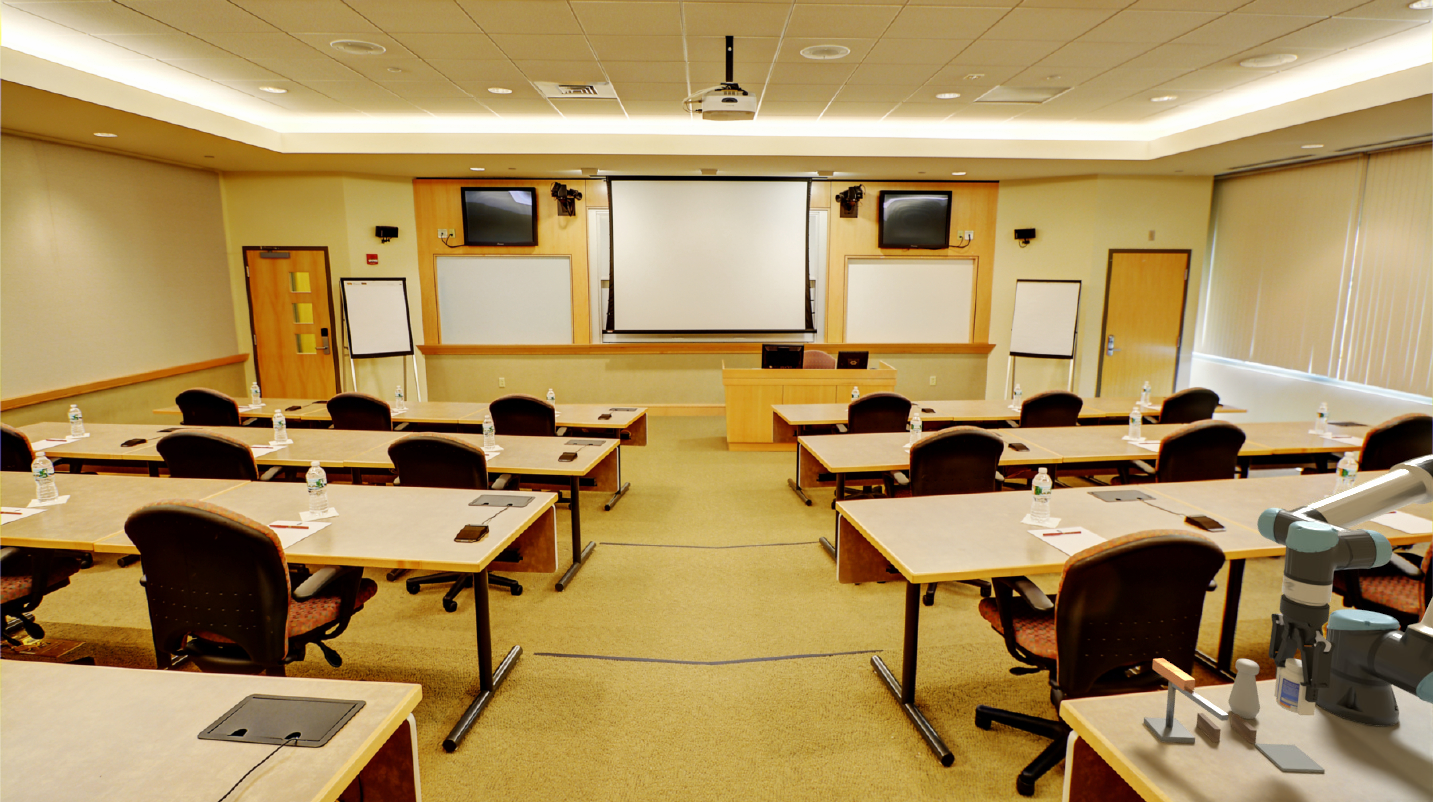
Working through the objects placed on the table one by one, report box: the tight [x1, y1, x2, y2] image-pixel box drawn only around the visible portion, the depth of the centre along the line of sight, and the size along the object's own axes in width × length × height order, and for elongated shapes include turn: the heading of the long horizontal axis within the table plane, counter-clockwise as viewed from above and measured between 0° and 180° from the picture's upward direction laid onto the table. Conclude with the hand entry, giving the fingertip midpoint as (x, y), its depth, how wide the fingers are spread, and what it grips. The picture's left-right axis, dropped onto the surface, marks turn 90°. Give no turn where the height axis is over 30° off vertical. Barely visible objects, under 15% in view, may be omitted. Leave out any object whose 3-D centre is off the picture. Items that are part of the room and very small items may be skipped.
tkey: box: [1152, 657, 1229, 728], centre depth 145 cm, size 18×2×14 cm, turn 7°
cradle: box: [1196, 712, 1257, 744], centre depth 150 cm, size 9×6×3 cm
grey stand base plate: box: [1143, 717, 1196, 744], centre depth 151 cm, size 7×7×1 cm
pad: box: [1254, 743, 1326, 774], centre depth 141 cm, size 8×8×1 cm
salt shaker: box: [1227, 658, 1261, 720], centre depth 156 cm, size 6×6×13 cm
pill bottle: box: [1275, 658, 1312, 714], centre depth 139 cm, size 5×5×10 cm
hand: (1293, 704), depth 140 cm, fingers closed on pill bottle, 5 cm apart
